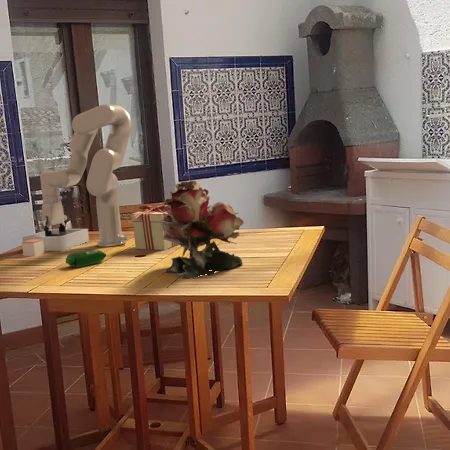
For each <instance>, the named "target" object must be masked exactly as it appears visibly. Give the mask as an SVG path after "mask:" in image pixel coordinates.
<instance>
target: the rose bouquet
mask: <svg viewBox="0 0 450 450" xmlns="http://www.w3.org/2000/svg"><path fill="white" fill-rule="evenodd" d="M203 190H204V189H203V188H202V187H201V184H199V182H197V181H196V180H190V181H188V180H187V181H183V180H181V181H180V183H177V184H175V185H174V191H172V190H171V191H170V192H169V193H170V196H171V198H166V199H165V200H164V203H163V206H165V205H167V206H168V207H167V208H164V209H167V213H168V215H167V216H166V217H164V219H163V220H162V221H163V222H162V223H161V225H162V228H163V231H164V237H163V238H162V239H164V240H167V241H171V242H173V243H176V244H178V245H177V246H180V247H183V251H182V256H180V255H178V256H177V257H173V258H172V257H171V259H170V260H172V262H171V265H170V266H169V267H167V268H166V269H165V271H166V272H165V273H169V272H174V273H177V275H178V276H181V277H184V278H187V279H188V278H192V279H195V278H194V277H198V276H200V275H204V276H205V274H207V275H208V276H211V274H212V275H214V272H215V271H220V272H222V271H225V270H230V269H233V268H236V267H238V266H239V265H243V260H242V259H241V257H240V256H238V255H235V253H232V254H231V253H229V252H225V251H222V250H221V249H220V248H219V247H218V246H217V243H216V242H215V240H220V241H222V242H225V243H228V244H231V243H232V244H235V245H237V243H236V242H234V241H231V240H229V239H230V238H231V239H233V240H234V239H235V240H236V239H237V238H238V237H240V232H239V230H240V227H241V226H243V225H244V224H245V222H244V220H243V219H241V217H239V216H238V217H237V215H238V214H239V212H237V211H234V209H233V207H232V206H231V205H230V204H229V203H225V202H223V201H222V202H221V201H217V202H215V203H213V204H211V205H209V204H210V202H209V201H210V196H209V195H207V196H206V193H205V192H204V191H203ZM235 231H236V232H235ZM211 240H213V241H212V242H211ZM202 246H205V247H204V248H202V249H201V250H200V251H199V247H202ZM187 251H189V257H185V254H186V252H187ZM209 270H212V271H209ZM184 271H185V272H184Z"/></svg>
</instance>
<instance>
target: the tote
mask: <svg viewBox="0 0 450 450" xmlns="http://www.w3.org/2000/svg"><path fill="white" fill-rule="evenodd" d="M65 230H66V235H63V236H60V237H45V231H44V230H42V231H39V232H36V233H32V234H27V235H24V236H22V237H21V238H22V242H23V241H27V240H30V239H43V245H44V252H47V251H48V252H63V251H64V252H65V251H66V249H67V250H70V249H72V247H73V248H75V247H74V246H76V247H78V246H77V245H79V246H81V245H83V244H82V243H84V244H86V243H85V242H87V243H89V242H90V239H89V238H90V237H89V229H88V228H65ZM50 231H52V232H59V228H53V229H52V228H51V230H50ZM88 241H89V242H88ZM80 244H81V245H80ZM69 248H70V249H69Z"/></svg>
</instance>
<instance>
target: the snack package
mask: <svg viewBox="0 0 450 450" xmlns="http://www.w3.org/2000/svg"><path fill="white" fill-rule="evenodd" d="M106 257H107V253H105V252H103V251H102V250H100V249H86V250H81V251H77V252H76V251H75V252H71V253H69V254H68V255H67V256H66V259H65V263H66V265H69V266H70V267H73V268H76V269H79V268H83V267H88V266H92V265H96V264H99V263H102V262H103V261H104V260H105V258H106Z"/></svg>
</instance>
